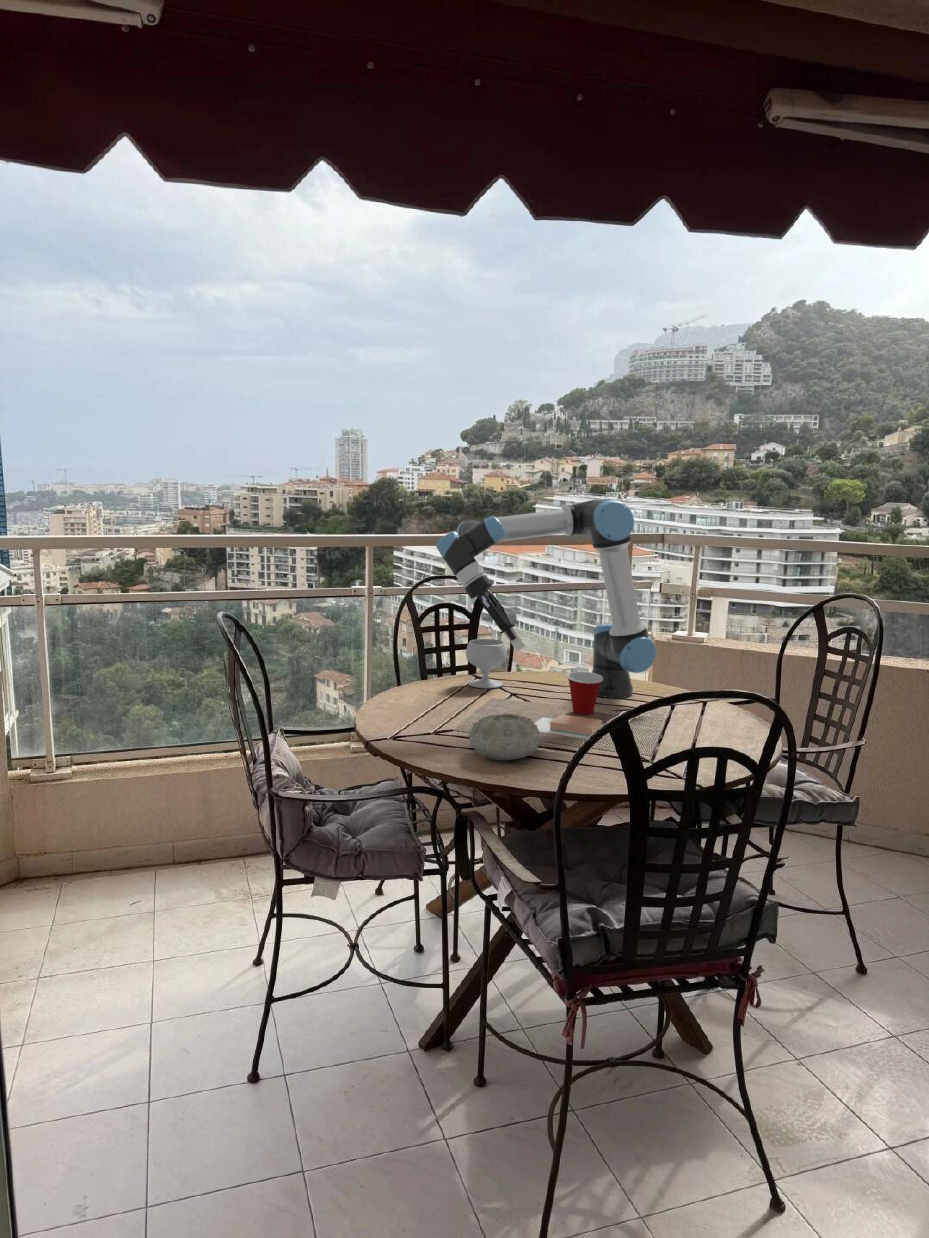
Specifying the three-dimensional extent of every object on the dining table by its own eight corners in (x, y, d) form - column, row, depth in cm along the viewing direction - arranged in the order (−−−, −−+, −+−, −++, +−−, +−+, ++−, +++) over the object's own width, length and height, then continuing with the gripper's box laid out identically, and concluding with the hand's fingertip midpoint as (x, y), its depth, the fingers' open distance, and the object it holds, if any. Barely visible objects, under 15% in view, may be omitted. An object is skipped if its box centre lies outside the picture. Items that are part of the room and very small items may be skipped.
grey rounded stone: (455, 757, 203) (455, 718, 201) (492, 739, 218) (493, 703, 216) (517, 771, 193) (518, 730, 192) (552, 752, 208) (553, 714, 206)
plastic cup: (576, 720, 237) (578, 680, 235) (558, 711, 247) (560, 672, 245) (608, 717, 241) (610, 678, 239) (590, 708, 251) (591, 670, 249)
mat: (524, 731, 226) (525, 729, 225) (542, 719, 238) (542, 717, 238) (594, 742, 217) (594, 740, 217) (609, 728, 229) (609, 726, 229)
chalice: (506, 690, 271) (507, 646, 269) (464, 689, 272) (465, 645, 269) (505, 680, 285) (506, 638, 283) (465, 679, 286) (466, 637, 283)
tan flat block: (550, 721, 224) (592, 728, 219) (561, 714, 232) (602, 720, 227) (550, 730, 225) (592, 736, 220) (560, 722, 233) (601, 728, 228)
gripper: (468, 589, 241) (514, 654, 239) (459, 588, 229) (506, 657, 226) (489, 574, 240) (535, 640, 237) (480, 572, 227) (528, 642, 225)
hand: (521, 648), depth 232 cm, fingers closed
